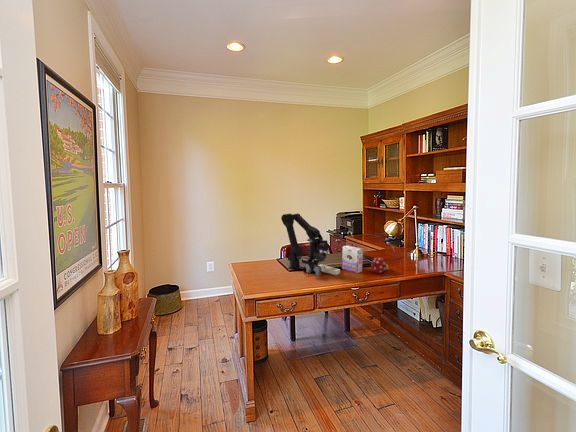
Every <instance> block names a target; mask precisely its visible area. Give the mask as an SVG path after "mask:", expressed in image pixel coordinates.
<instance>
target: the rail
mask: <svg viewBox="0 0 576 432" xmlns="http://www.w3.org/2000/svg"><path fill="white" fill-rule="evenodd" d="M318 266H321V273H325V274H329V275H333V276H339V275H340V274H341V269H339V268H336V267H332V266H328V265H325V264H318ZM324 267H325V268H324Z"/></svg>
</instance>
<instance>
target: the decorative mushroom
mask: <svg viewBox="0 0 576 432" xmlns="http://www.w3.org/2000/svg"><path fill="white" fill-rule="evenodd" d="M370 267H371V270H372V271H373V272H374V273H376V274H382V273H384V272H385V271H388V269H389V265H388V264H387V262H386V260H385V259H384V258H382V257H380V256H378V257H375V258H373V259H372V261H371V265H370Z"/></svg>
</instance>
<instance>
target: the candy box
mask: <svg viewBox="0 0 576 432" xmlns="http://www.w3.org/2000/svg"><path fill="white" fill-rule="evenodd" d="M341 249H342V250H341V269H342V270H344V271H348V272H350V273H351V272H352V273H353V274H354V273H355V274H360V273H362V272H363V257H364V255H363V254H364V248H361V247H355V246H352V245H348V244H347V245H343V246H342V248H341Z"/></svg>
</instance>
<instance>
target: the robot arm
mask: <svg viewBox="0 0 576 432" xmlns="http://www.w3.org/2000/svg"><path fill="white" fill-rule="evenodd" d="M280 219H281V222H282V224H283V226H284V227H286V232H287V236H288V239H289V244H290V250H289V253H290V255H288V256H287V260H288V261H289V266H288V269H290V270H293V271H297V270H299V269H301V266H300V263H302V264H305V265H306V264H308V265H309V267H310V269H311V272H314V271H313V267H314V265H319V263H321V262H325V260H326V258H327V256H328V255H327V251H328V250H329V248H330V244H329V242H328V240H327V239H325V240H324V239H323V236H322V235H321V232H320V230H319V229H317V228H316V227H315V226H312V225H311V224H309V222H308V221H306V220H305V219H304V218H303V216H301V214H300V213H294V214H292V213H284V214H282V215H281V217H280ZM294 222H296V223H297V224H298V225H299V226H300V227H301V228H302V229H303V230H304V231H305V233H306V235H307V237H308V239H306V240H307V241H308V242H309V249H307V250H308V252H309V255H307V257H303V255H304V254H303V253H304V251H303V247H302V246H300V245H299V244H298V240H297V235H296V232H295V228H294ZM321 251H323V252H321ZM302 257H303V258H302ZM300 260H301V262H300Z"/></svg>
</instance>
